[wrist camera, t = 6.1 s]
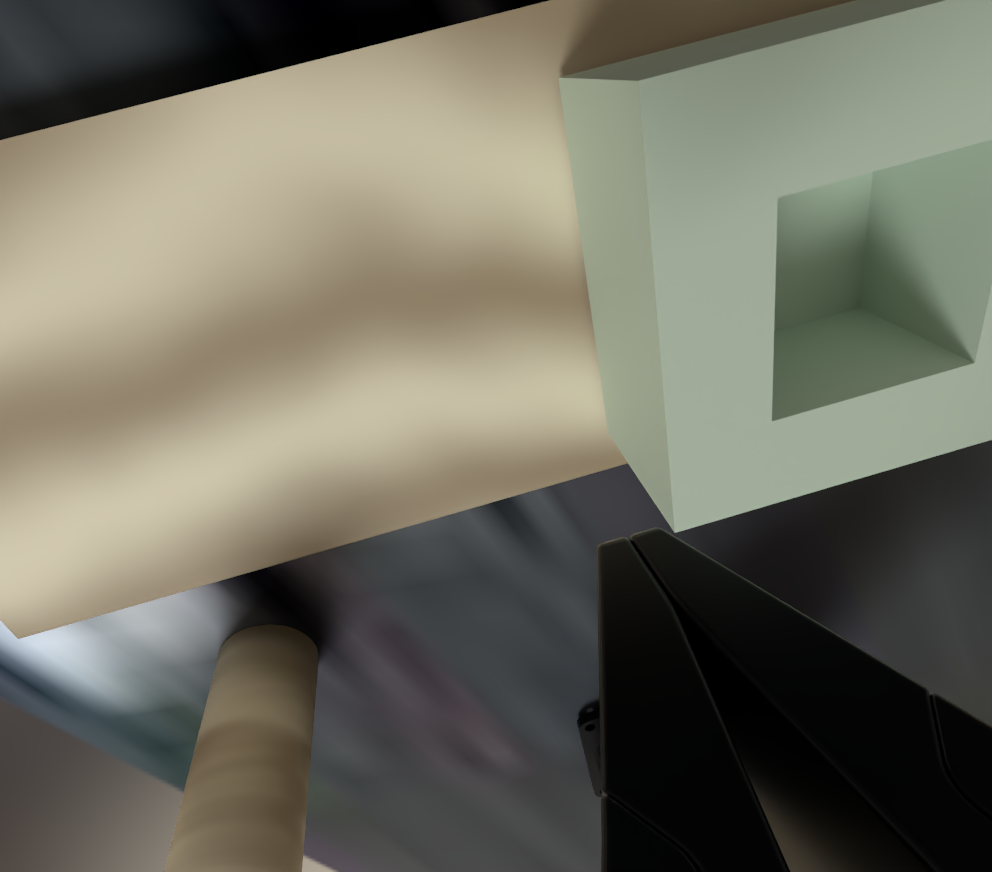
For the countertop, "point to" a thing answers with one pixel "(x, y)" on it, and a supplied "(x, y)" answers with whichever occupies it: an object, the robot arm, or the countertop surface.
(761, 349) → the socket block
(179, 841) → the dowel
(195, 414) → the wall board
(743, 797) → the robot arm
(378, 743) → the countertop surface
